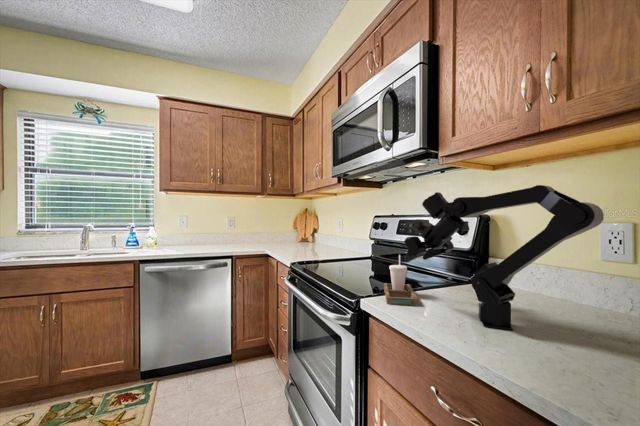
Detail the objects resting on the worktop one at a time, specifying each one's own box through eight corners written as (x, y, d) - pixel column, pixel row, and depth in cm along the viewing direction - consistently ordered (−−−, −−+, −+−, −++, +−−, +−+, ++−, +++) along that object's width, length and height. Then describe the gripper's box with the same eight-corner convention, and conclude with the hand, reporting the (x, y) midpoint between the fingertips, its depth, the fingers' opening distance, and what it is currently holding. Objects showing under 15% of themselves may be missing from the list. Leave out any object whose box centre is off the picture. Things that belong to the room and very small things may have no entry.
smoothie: (409, 295, 99) (409, 256, 99) (391, 295, 99) (391, 256, 99) (404, 290, 105) (404, 253, 105) (387, 290, 105) (387, 253, 105)
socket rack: (383, 288, 108) (383, 283, 108) (409, 289, 106) (409, 284, 106) (386, 304, 89) (387, 297, 89) (418, 305, 88) (418, 299, 88)
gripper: (445, 211, 96) (418, 240, 105) (409, 211, 86) (383, 243, 95) (467, 235, 89) (437, 264, 99) (431, 238, 79) (400, 270, 89)
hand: (414, 259), depth 96 cm, fingers open, 9 cm apart
